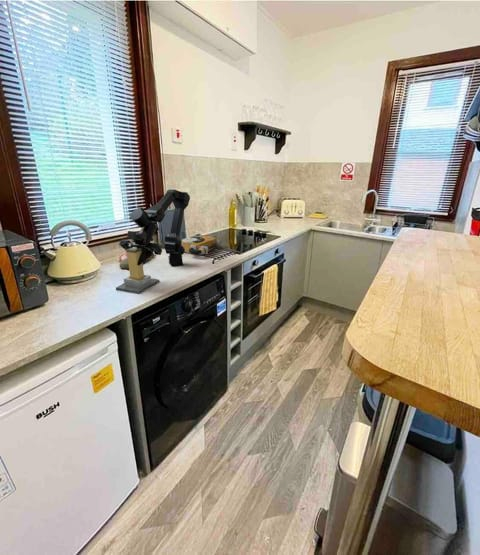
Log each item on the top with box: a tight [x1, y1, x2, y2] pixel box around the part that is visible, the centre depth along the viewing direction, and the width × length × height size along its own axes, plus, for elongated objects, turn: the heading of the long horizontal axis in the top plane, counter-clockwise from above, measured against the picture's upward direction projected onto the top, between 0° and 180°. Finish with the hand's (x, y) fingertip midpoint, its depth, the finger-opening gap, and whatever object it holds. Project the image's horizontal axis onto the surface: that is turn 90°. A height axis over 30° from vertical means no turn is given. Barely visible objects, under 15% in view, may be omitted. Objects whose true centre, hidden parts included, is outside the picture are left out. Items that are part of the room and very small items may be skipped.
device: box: [181, 233, 222, 256], centre depth 171 cm, size 23×8×30 cm
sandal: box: [119, 252, 155, 270], centre depth 152 cm, size 12×30×8 cm, turn 173°
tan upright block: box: [125, 247, 145, 280], centre depth 117 cm, size 4×5×14 cm
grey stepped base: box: [115, 274, 160, 295], centre depth 120 cm, size 14×12×4 cm
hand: (133, 264), depth 116 cm, fingers closed on tan upright block, 4 cm apart
